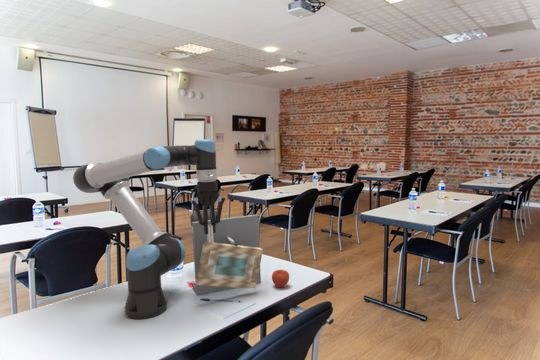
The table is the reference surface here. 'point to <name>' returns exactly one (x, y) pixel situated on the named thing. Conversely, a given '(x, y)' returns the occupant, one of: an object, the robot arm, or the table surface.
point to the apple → (280, 278)
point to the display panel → (225, 242)
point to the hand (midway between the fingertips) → (210, 241)
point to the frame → (229, 265)
